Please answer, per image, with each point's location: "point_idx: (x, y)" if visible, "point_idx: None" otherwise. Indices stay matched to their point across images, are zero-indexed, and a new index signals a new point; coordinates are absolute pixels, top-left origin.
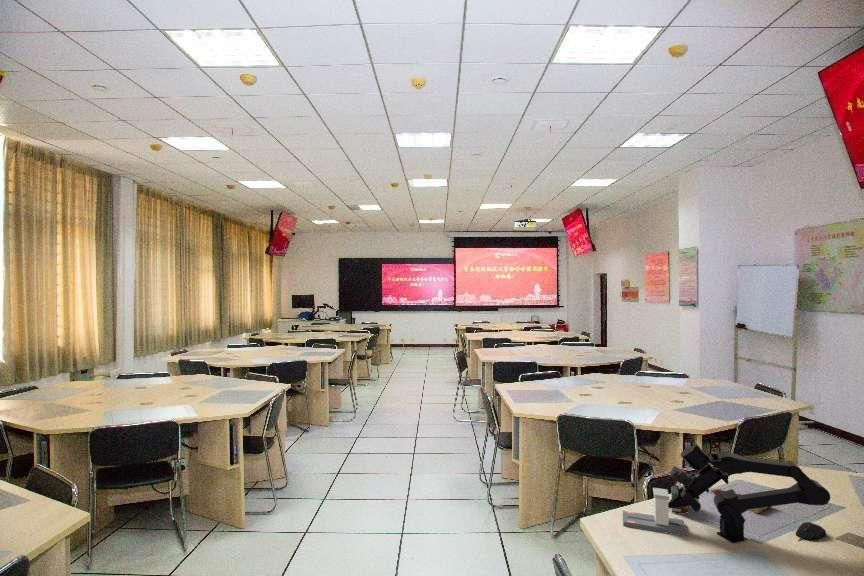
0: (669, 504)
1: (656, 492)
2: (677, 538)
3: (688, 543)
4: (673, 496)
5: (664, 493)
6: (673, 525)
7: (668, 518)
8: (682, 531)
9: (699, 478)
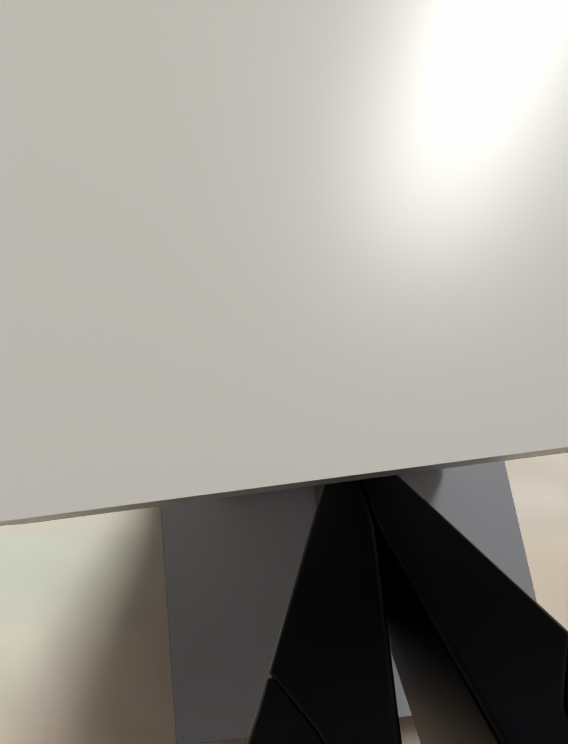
0: (318, 516)
1: (216, 2)
2: (84, 599)
3: (2, 730)
4: (553, 688)
5: (267, 295)
6: (291, 558)
7: (486, 491)
8: (175, 677)
9: None
